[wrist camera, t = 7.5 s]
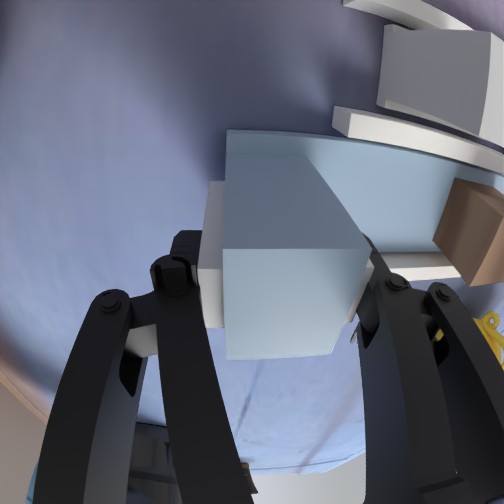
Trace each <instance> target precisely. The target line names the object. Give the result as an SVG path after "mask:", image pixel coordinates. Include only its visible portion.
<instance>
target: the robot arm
mask: <svg viewBox="0 0 504 504" xmlns="http://www.w3.org/2000/svg"><path fill="white" fill-rule="evenodd" d="M224 191H225V181H210V184H209V190H208V197H207V203H206V209H205V216H204V223H203V230H181V231H180V232H179V233H178V234H177V235H176V236H175V237H174V239H173V243H172V247H171V251H170V254H169V255H165V256H162V257H160V258H159V259H157V260H156V261H155V262H154V263H153V264H152V265H151V268H150V274H151V278H152V283H153V287H154V291H152V292H150V293H148V294H145V295H142V296H138V297H133V298H130V297H129V295H128V294H127V293H126V292H124V291H123V290H119V289H111V290H107V291H104V292H102V293H100V294H99V295H98V296H96V297H95V299H94V300H93V302H92V303H91V305H90V308H89V310H88V312H87V314H86V317H85V319H84V321H83V324H82V326H81V328H80V331H79V333H78V336H77V338H76V340H75V343H74V346H73V348H72V351H71V353H70V356H69V359H68V361H67V364H66V367H65V369H64V372H63V375H62V378H61V381H60V384H59V387H58V390H57V393H56V396H55V400H54V403H53V406H52V410H51V413H50V417H49V420H48V424H47V428H46V432H45V436H44V440H43V444H42V448H41V453H40V458H39V460H38V461H37V464H36V466H35V469H34V472H33V475H32V478H31V481H30V484H29V488H28V492H27V497H26V501H25V504H254V502H253V499H252V496H251V493H250V490H249V487H248V484H247V481H246V478H245V475H244V472H243V469H242V465H241V462H240V459H239V456H238V452H237V449H236V445H235V442H234V439H233V435H232V432H231V428H230V424H229V421H228V417H227V414H226V410H225V406H224V402H223V398H222V395H221V391H220V387H219V383H218V379H217V375H216V371H215V366H214V362H213V358H212V354H211V349H210V345H209V340H208V336H207V331H206V328H225V322H224V290H223V218H224ZM362 234H363V236H364V237H365V239H366V240H367V242H368V243H369V245H370V246H371V248H372V251H371V254H370V257H369V260H368V263H367V266H366V268H365V271H364V274H363V277H362V279H361V282H360V285H359V287H358V290H357V293H356V295H355V298H354V300H353V303H352V306H351V308H350V310H349V313H348V315H347V318H346V320H345V323H350V322H352V321H353V318H354V316H355V314H356V312H357V314H358V317H359V319H360V321H359V323H358V325H357V327H356V329H355V331H354V333H353V335H352V337H351V342H350V343H353V342H354V340H355V338H356V336H357V340H358V341H357V344H358V348H359V357H360V366H361V376H362V387H363V400H364V415H365V438H366V495H365V501H364V503H363V504H504V370H503V368H502V366H501V365H500V363H499V361H498V359H497V357H496V356H495V354H494V352H493V350H492V349H491V347H490V345H489V344H488V342H487V340H486V339H485V337H484V335H483V334H482V332H481V330H480V329H479V327H478V326H477V324H476V323H475V321H474V320H473V318H472V316H471V315H470V313H469V312H468V311H467V309H466V308H465V306H464V305H463V303H462V302H461V300H460V299H459V298H458V296H457V295H456V293H455V292H454V291H453V290H452V289H451V288H450V287H449V286H447V285H446V284H443V283H440V282H435V283H432V284H431V285H430V287H429V288H428V290H427V291H422V290H418V289H413V288H412V287H411V285H410V284H409V282H408V281H407V280H406V279H405V278H404V277H403V276H401V275H399V274H397V273H393V272H391V271H390V269H389V268H388V266H387V264H386V263H385V261H384V260H383V258H382V256H381V255H380V253H378V250H377V249H376V247H375V246H374V244H373V243H372V241H371V240H370V238H369V237H367V236H366V235H365V234H364V233H362ZM440 329H441V331H442V333H443V334H444V335H443V336H442V338H441V339H440V340H437V338H436V337H435V336H436V334H437V333H438V331H439V330H440ZM156 354H158V359H159V369H160V379H161V388H162V396H163V404H164V411H165V418H166V425H167V428H164V427H160V426H154V425H148V424H140V423H136V418H137V412H138V406H139V401H140V395H141V390H142V385H143V380H144V375H145V370H146V365H147V361H148V356H151V355H156ZM456 472H457V473H456Z"/></svg>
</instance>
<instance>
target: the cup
mask: <svg viewBox="0 0 504 504" xmlns="http://www.w3.org/2000/svg"><path fill="white" fill-rule="evenodd" d="M241 465H242V469H243V472H244V475H245V478H246V481H247V484H248V487H249V490H250V493H251V494H257V493H258V491H257V490H256V487H255V486H254V483H253V481H252V478H251V474H250V471H249V464H247V463H241Z"/></svg>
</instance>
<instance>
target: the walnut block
mask: <svg viewBox="0 0 504 504" xmlns="http://www.w3.org/2000/svg"><path fill="white" fill-rule="evenodd" d="M432 241H433V242H434V243H435V244H436V245H437V247H438V248H439V249H440V250H441V251H442V253H443V254H444V255H445V256H446V257H447V259H448V260H449V261H450V262H451V264H452V265H453V266H454V267H455V269H456V270H457V271H458V273H459V274H460V275H461V277H462V278H463V279H464V281H465V282H466V283H467V285H468V286H469V287H471V286H479V285H486V284H493V283H500V282H504V195H503V194H502V193H501V192H499V191H498V190H497V189H495V188H494V187H491V186H488V185H484V184H480V183H476V182H472V181H468V180H464V179H459V178H455V177H454V180H453V184H452V187H451V190H450V193H449V196H448V199H447V202H446V205H445V208H444V211H443V213H442V216H441V219H440V222H439V224H438V227H437V229H436V232H435V235H434V237H433V239H432Z"/></svg>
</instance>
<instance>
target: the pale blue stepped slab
mask: <svg viewBox="0 0 504 504" xmlns="http://www.w3.org/2000/svg"><path fill="white" fill-rule="evenodd" d="M454 177H455V178H459V179H464V180H468V181H472V182H476V183H480V184H484V185H488V186H491V187H494V188H495V189H497V190H498V191H499V192H501V193H502V194H503V195H504V175H503V174H500V173H497V172H494V171H491V170H488V169H485V168H482V167H479V166H475V165H472V164H469V163H465V162H462V161H458V160H455V159H451V158H447V157H443V156H439V155H435V154H431V153H427V152H423V151H418V150H414V149H409V148H404V147H399V146H394V145H389V144H383V143H378V142H372V141H365V140H359V139H352V138H344V137H337V136H328V135H319V134H308V133H297V132H282V131H263V130H227V136H226V168H225V191H224V218H223V290H224V322H225V348H226V360H250V359H274V358H291V357H304V356H316V355H326V354H331V352H332V350H333V348H334V346H335V343H336V341H337V339H338V337H339V334H340V332H341V330H342V327H343V325H344V323H345V320H346V318H347V315H348V313H349V310H350V308H351V306H352V303H353V300H354V298H355V295H356V293H357V290H358V287H359V285H360V282H361V279H362V277H363V274H364V271H365V268H366V266H367V263H368V260H369V257H370V254H371V251H372V248H371V246H370V245H369V243H368V242H367V240H366V239H365V237H364V236H363V234H362V233H364V234H365V235H366V236H367V237H369V238H370V240H371V241H372V243H373V244H374V246H375V247H376V249H377V250H378V252H430V251H441V250H440V249H439V248H438V247H437V245H436V244H435V243H434V242H433V241H432V239H433V237H434V235H435V232H436V229H437V227H438V224H439V222H440V219H441V216H442V213H443V211H444V208H445V205H446V202H447V199H448V196H449V193H450V190H451V187H452V184H453V180H454Z"/></svg>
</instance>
